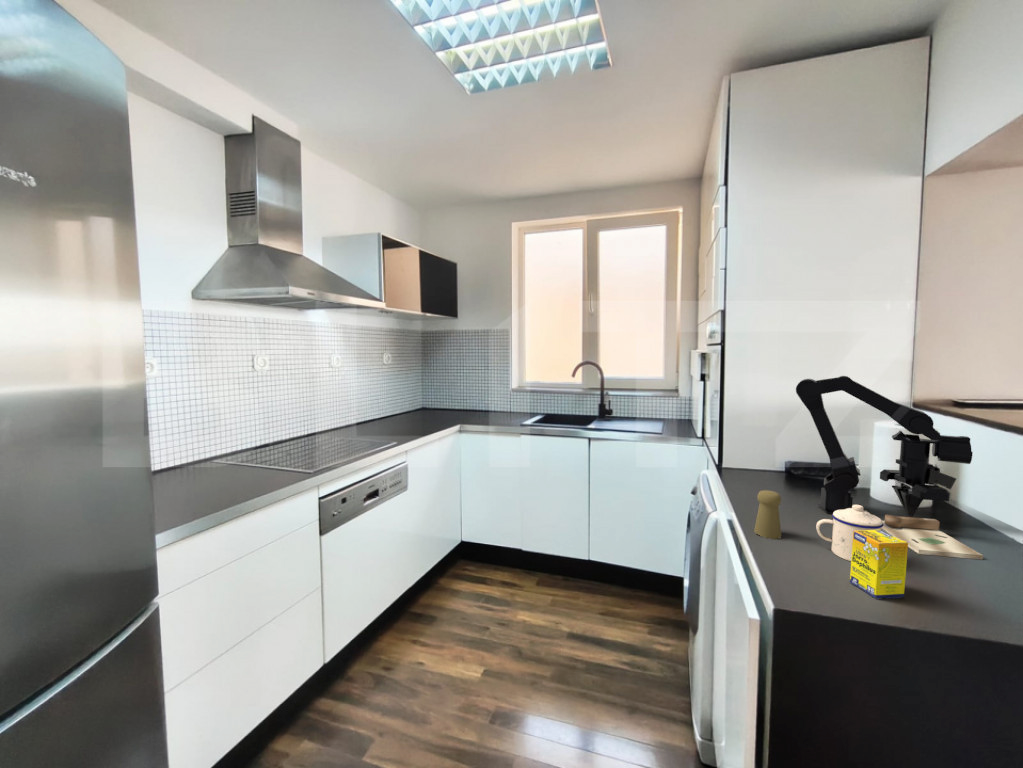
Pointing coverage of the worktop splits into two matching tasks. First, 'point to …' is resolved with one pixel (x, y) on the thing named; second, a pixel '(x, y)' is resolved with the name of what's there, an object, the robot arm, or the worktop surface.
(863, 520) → the teacup with lid
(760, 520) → the cork
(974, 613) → the worktop surface
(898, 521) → the walnut lever
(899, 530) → the dial plate
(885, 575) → the supplement box
